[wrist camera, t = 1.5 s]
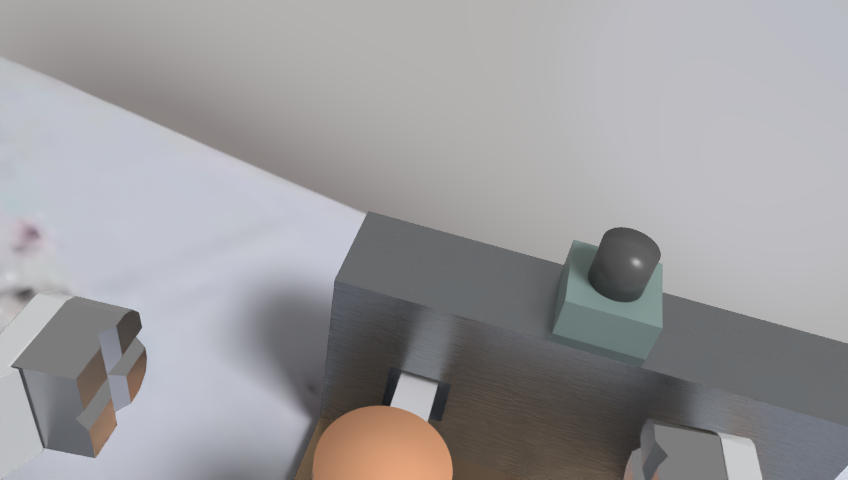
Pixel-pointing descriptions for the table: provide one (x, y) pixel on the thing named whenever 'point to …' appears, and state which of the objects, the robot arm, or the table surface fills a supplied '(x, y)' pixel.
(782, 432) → the mount
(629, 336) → the potentiometer
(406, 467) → the orange-capped knob
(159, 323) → the table surface
